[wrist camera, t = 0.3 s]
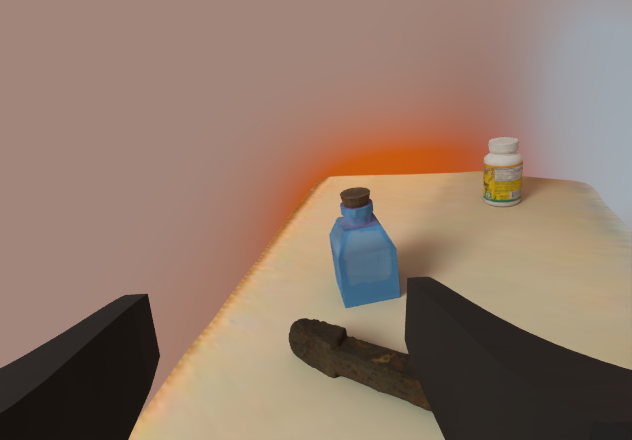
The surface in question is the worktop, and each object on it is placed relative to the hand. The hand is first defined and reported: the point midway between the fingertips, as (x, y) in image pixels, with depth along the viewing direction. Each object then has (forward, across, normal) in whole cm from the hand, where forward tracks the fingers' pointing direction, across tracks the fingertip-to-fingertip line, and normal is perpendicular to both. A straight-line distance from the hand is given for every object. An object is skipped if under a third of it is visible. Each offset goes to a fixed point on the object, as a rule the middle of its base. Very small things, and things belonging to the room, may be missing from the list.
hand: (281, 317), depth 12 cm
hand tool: (+18, -7, +19) cm, 27 cm away
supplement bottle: (+50, -33, +14) cm, 61 cm away
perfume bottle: (+32, -8, +18) cm, 38 cm away
